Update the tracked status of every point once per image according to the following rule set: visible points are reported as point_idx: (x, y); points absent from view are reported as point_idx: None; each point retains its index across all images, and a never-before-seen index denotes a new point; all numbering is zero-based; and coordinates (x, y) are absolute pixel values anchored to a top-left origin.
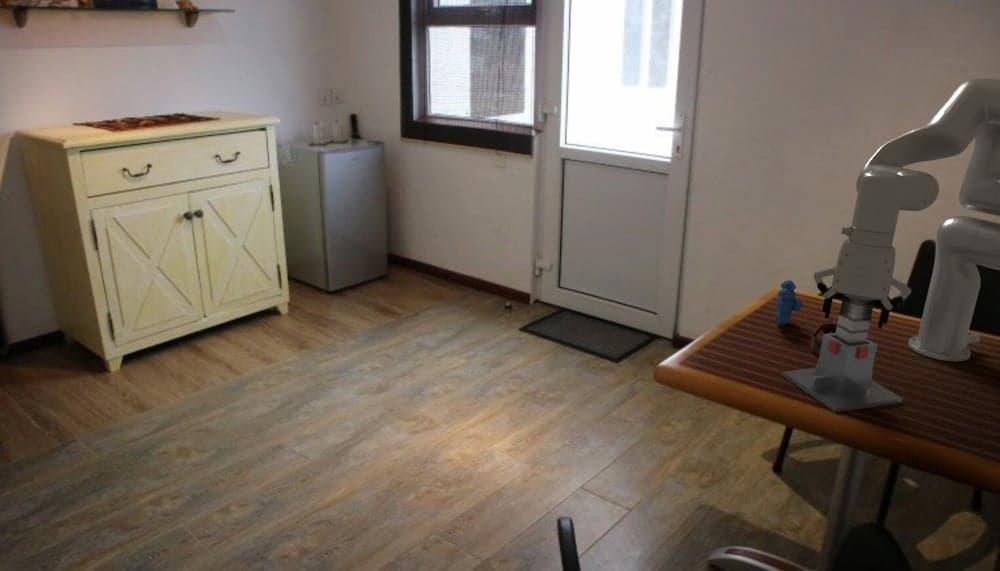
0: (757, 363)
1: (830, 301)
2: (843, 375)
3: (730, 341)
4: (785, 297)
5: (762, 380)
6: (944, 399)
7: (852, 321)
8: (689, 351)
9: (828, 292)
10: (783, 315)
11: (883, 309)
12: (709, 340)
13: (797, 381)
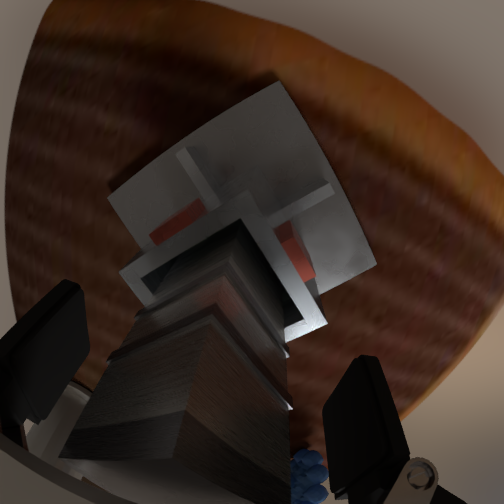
0: (406, 307)
1: (391, 444)
2: (251, 173)
3: (417, 379)
4: (317, 488)
5: (421, 222)
6: (50, 244)
7: (222, 314)
8: (496, 312)
9: (422, 499)
10: (312, 460)
11: (1, 354)
12: (449, 368)
13: (354, 215)
